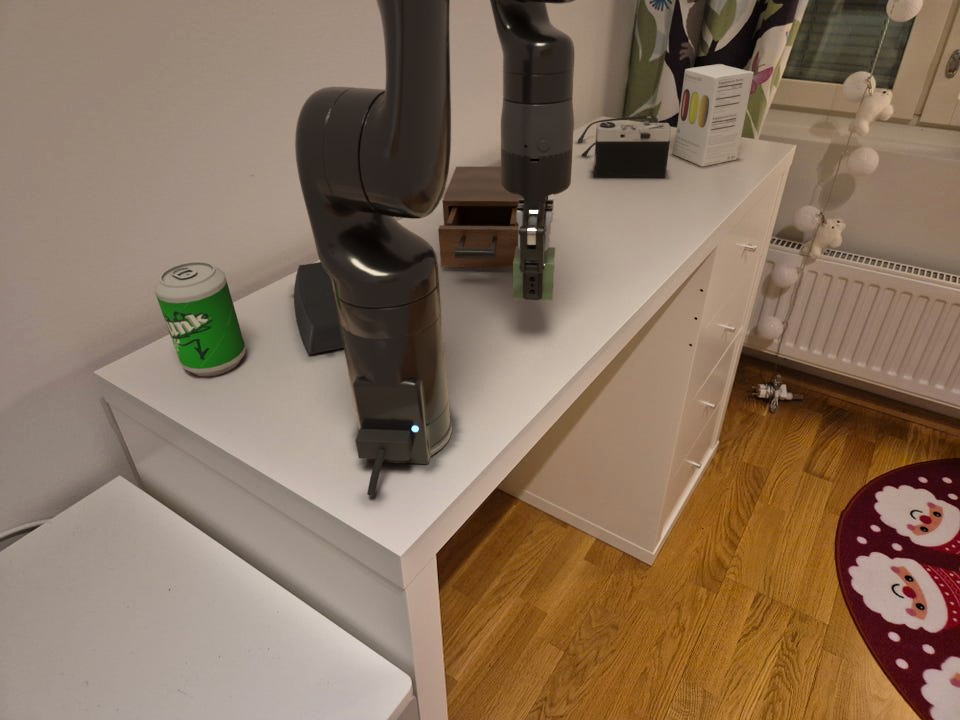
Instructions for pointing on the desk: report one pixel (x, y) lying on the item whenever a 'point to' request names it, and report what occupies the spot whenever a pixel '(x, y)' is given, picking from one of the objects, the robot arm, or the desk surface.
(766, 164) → the desk surface
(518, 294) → the block
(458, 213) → the drawer
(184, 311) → the soda can
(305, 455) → the desk surface
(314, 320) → the hard drive
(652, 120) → the sunglasses
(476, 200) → the cabinet
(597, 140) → the camera
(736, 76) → the supplement box
